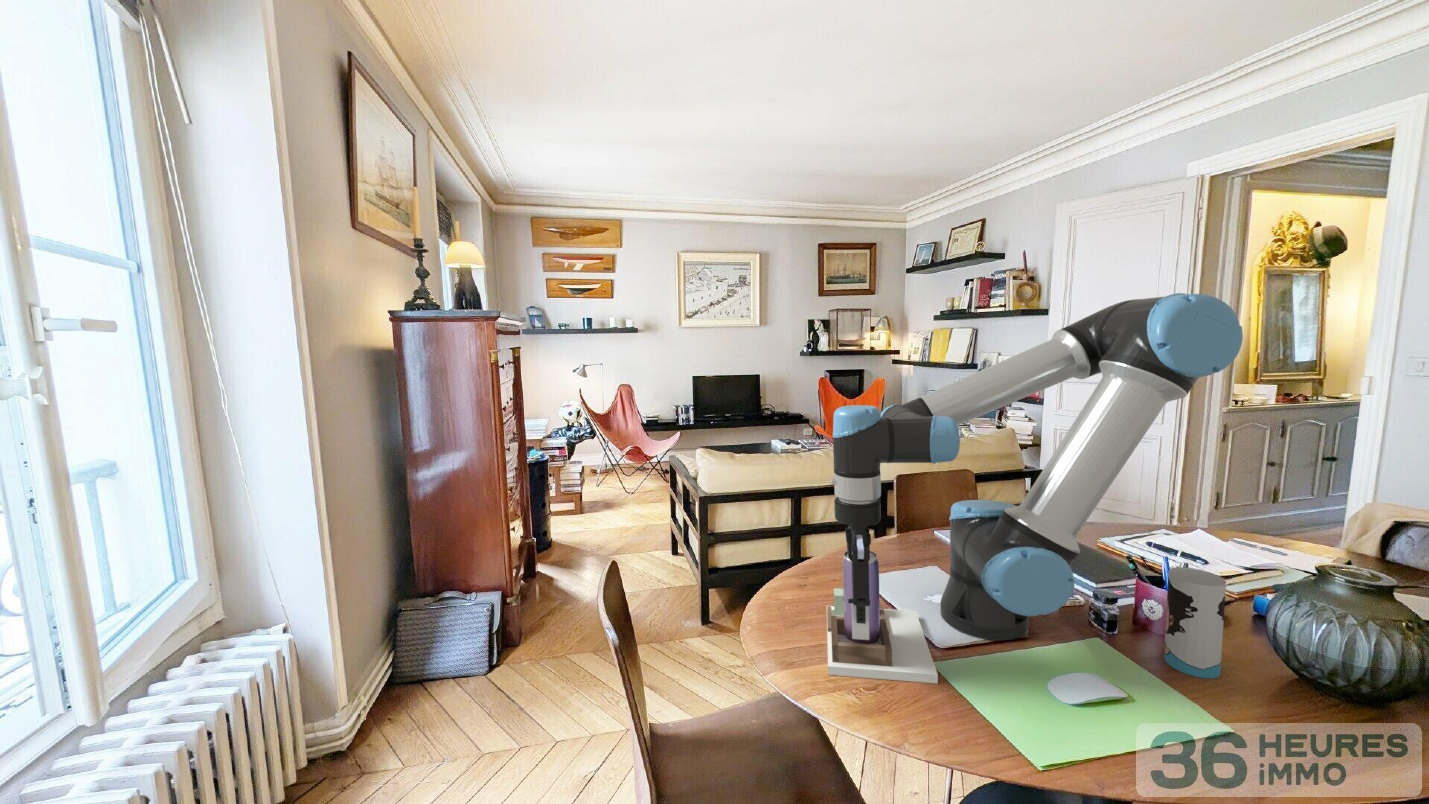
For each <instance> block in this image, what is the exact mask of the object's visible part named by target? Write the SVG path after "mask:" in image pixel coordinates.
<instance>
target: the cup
mask: <svg viewBox="0 0 1429 804" xmlns="http://www.w3.org/2000/svg"><path fill="white" fill-rule="evenodd" d="M1167 576H1168V577H1167V579H1168V580H1167V595H1166V597H1167V598H1166V617H1165V636H1164V656H1163V659H1164V661H1165V663H1167V665H1168V666H1170V667H1171V668H1173V669H1174V670H1176V671H1179V672H1181V673H1183V674H1184V675H1185V674H1186V675H1189V676H1192V677H1196V678H1202V679H1216V678H1218V677H1220V676H1221V668H1222V653H1223V649H1222V648H1223V639H1224V638H1223V637H1224V623H1225V622H1224V619H1225V606H1226V605H1225V604H1226V588H1227V580H1226V579H1224V578H1223V577H1222V576H1219V575H1218V574H1216V573H1212V572H1210V571H1206V570H1204V569H1203V570H1202V569H1198V568H1192V567H1178V566H1177V567H1172V568H1170V569H1168V575H1167Z"/></svg>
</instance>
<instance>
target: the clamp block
mask: <svg viewBox="0 0 1429 804" xmlns="http://www.w3.org/2000/svg"><path fill="white" fill-rule="evenodd" d="M833 606H834V611H835V615H843V616H844V599H843V588H838V587H837V588H835V587H834V588H833Z"/></svg>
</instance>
